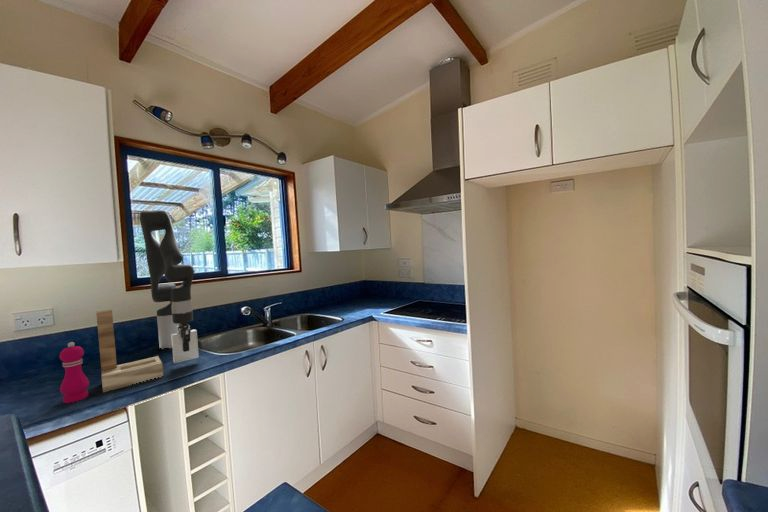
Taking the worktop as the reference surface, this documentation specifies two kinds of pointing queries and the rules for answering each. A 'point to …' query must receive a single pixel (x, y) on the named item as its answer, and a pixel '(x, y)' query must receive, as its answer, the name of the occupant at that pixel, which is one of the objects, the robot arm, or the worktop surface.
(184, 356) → the grey stone slab
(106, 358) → the wooden l-shaped stand
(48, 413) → the worktop surface
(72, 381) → the pepper mill
